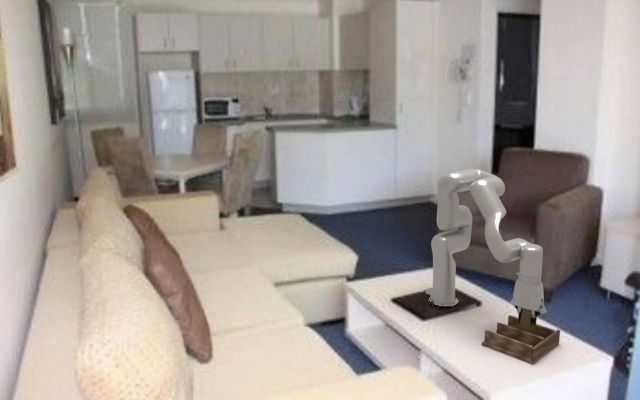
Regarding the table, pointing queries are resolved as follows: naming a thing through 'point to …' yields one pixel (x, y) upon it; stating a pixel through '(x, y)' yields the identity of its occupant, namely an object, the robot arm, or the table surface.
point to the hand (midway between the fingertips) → (527, 323)
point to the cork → (526, 321)
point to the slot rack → (522, 341)
